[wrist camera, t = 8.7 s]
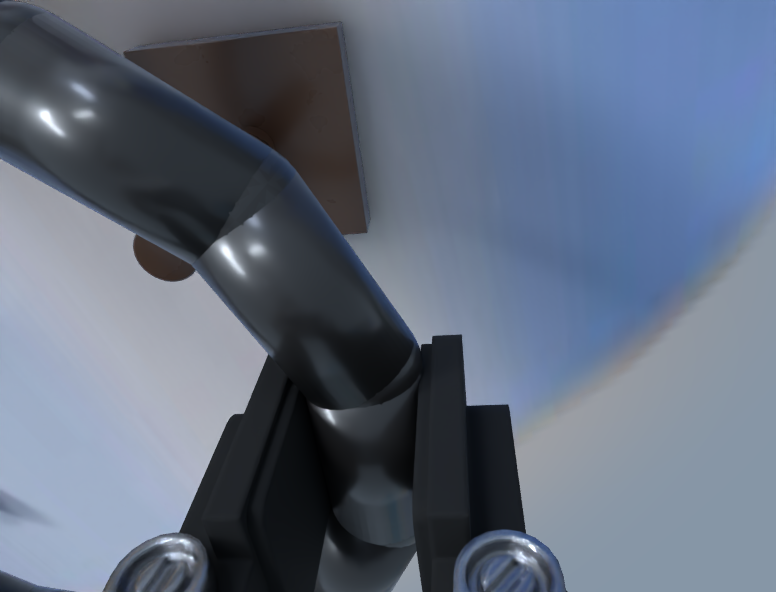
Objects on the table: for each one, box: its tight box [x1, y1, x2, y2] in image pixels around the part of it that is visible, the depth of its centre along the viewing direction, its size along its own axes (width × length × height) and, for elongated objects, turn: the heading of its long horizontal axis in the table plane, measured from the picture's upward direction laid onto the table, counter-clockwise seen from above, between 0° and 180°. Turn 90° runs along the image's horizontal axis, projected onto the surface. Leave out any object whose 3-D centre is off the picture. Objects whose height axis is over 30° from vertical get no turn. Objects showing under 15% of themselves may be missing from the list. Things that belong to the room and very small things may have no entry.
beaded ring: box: [0, 0, 423, 592], centre depth 12 cm, size 16×16×2 cm
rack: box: [124, 22, 370, 282], centre depth 23 cm, size 9×9×12 cm
